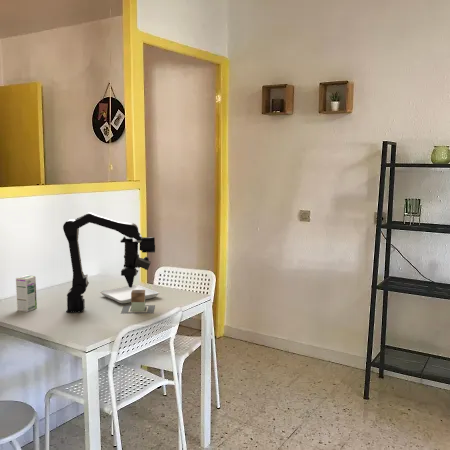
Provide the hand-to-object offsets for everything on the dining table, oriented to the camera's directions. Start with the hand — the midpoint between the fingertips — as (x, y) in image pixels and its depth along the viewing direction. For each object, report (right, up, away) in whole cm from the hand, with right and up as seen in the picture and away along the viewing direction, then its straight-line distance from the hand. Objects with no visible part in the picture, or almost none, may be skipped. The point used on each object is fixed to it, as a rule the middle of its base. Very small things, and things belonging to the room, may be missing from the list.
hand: (130, 287), depth 213 cm
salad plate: (-4, -8, +19) cm, 21 cm away
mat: (+3, -10, -1) cm, 11 cm away
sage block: (+3, -10, -1) cm, 10 cm away
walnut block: (+3, -6, -1) cm, 7 cm away
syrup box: (-45, -9, -3) cm, 46 cm away
